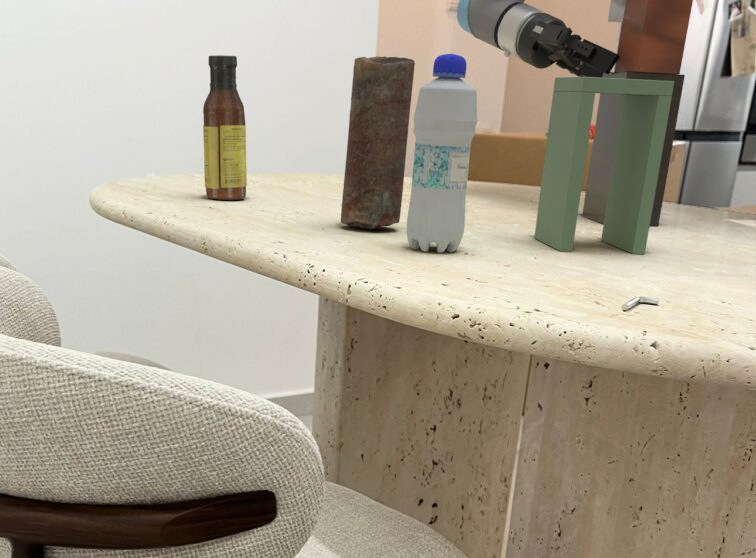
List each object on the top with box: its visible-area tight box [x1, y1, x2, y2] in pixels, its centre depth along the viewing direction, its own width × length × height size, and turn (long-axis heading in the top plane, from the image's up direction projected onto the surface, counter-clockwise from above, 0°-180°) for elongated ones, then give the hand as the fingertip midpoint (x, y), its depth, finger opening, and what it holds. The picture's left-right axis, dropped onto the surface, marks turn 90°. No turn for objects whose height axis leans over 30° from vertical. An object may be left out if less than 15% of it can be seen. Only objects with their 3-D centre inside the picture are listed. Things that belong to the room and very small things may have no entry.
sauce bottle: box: [202, 54, 248, 201], centre depth 138 cm, size 6×6×20 cm
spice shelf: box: [581, 71, 686, 227], centre depth 134 cm, size 8×9×20 cm
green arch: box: [534, 76, 674, 255], centre depth 109 cm, size 10×10×18 cm
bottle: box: [406, 53, 478, 254], centre depth 101 cm, size 7×7×20 cm
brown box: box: [607, 0, 694, 75], centre depth 132 cm, size 6×18×11 cm, turn 3°
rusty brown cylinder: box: [340, 56, 416, 230], centre depth 114 cm, size 8×7×20 cm
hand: (635, 85), depth 136 cm, fingers open, 13 cm apart
